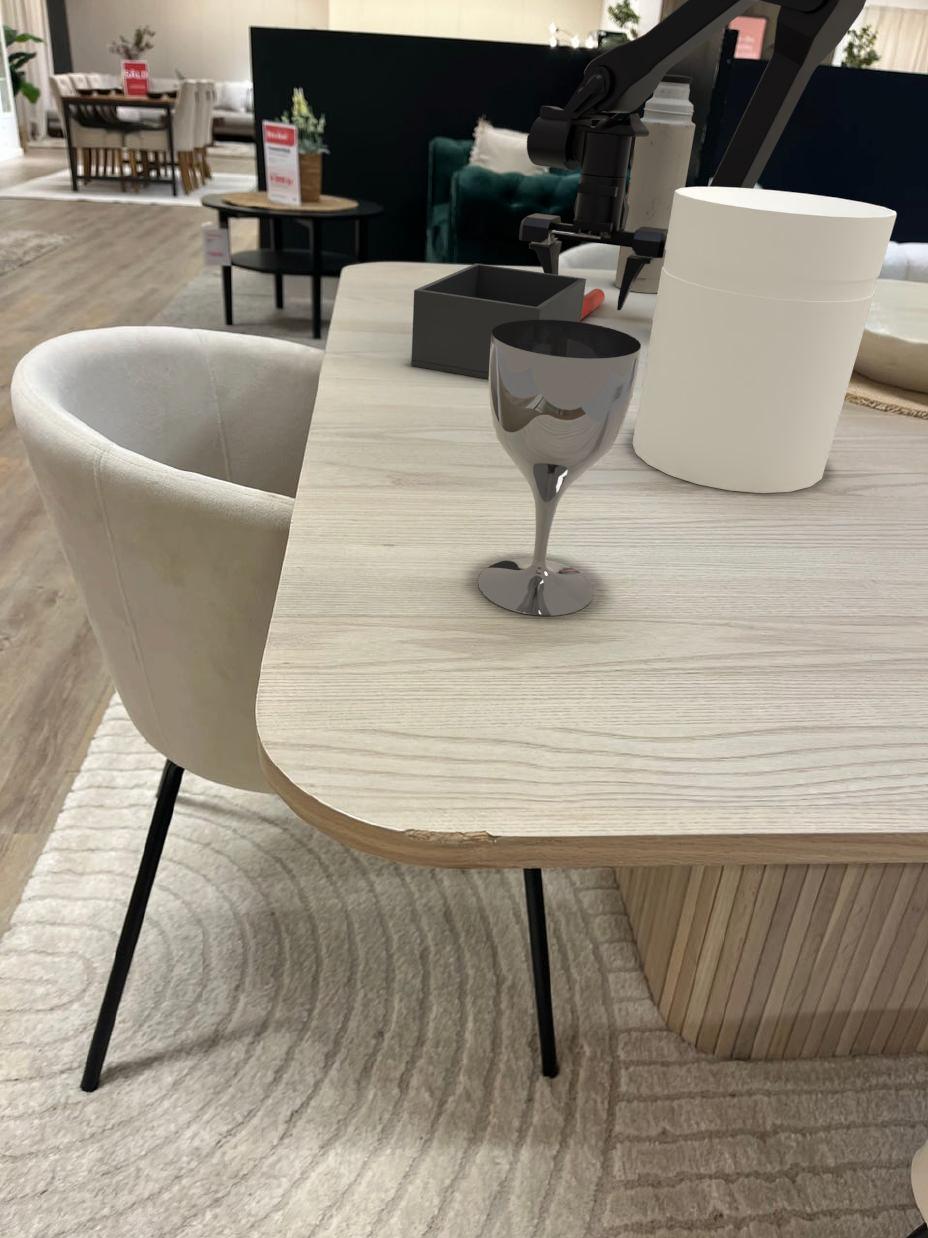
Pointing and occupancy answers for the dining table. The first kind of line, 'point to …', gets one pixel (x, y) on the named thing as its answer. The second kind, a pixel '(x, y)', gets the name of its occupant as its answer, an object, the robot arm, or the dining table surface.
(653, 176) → the thermos bottle
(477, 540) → the dining table surface
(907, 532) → the dining table surface
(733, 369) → the canister
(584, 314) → the sausage
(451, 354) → the bin
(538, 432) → the wine glass
